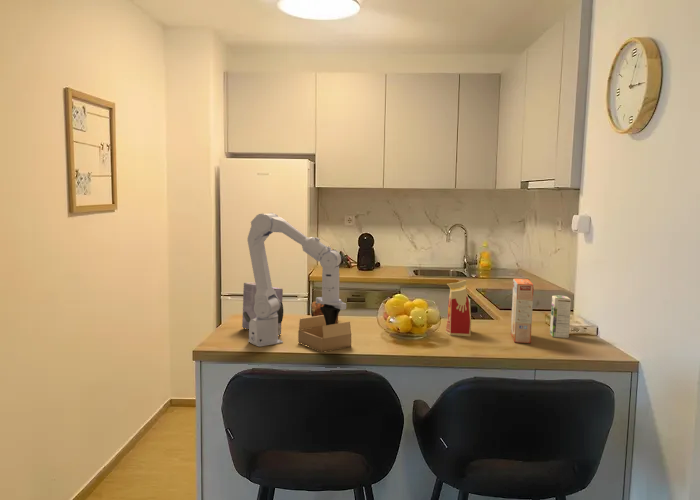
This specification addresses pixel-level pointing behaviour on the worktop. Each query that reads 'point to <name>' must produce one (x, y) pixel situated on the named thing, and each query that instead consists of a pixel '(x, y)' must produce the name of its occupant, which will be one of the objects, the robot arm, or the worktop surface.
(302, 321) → the far flap
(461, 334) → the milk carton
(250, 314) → the cake pan box
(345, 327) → the near flap
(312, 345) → the carton
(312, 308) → the bread
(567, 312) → the syrup box
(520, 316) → the cracker box
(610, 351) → the worktop surface
